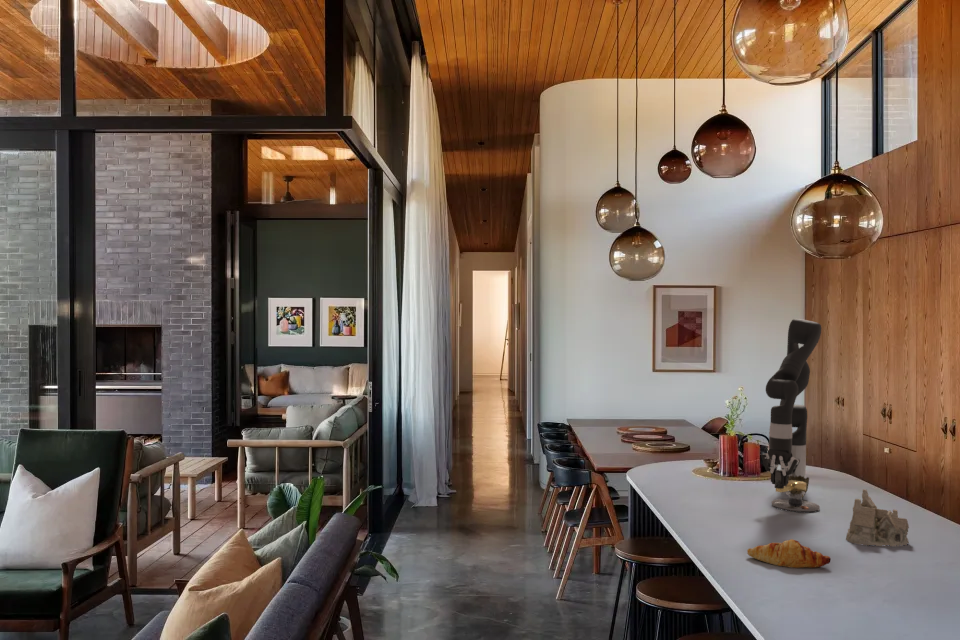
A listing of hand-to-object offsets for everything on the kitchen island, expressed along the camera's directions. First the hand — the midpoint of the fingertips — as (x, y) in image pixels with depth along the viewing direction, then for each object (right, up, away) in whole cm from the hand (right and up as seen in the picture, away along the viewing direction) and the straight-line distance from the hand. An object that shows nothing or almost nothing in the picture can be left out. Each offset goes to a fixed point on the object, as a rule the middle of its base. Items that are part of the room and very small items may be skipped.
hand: (779, 484), depth 268 cm
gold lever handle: (+5, -3, +3) cm, 6 cm away
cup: (+15, -10, +20) cm, 27 cm away
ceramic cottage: (+15, -10, -37) cm, 41 cm away
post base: (+8, -9, +6) cm, 13 cm away
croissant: (-21, -9, -60) cm, 64 cm away
